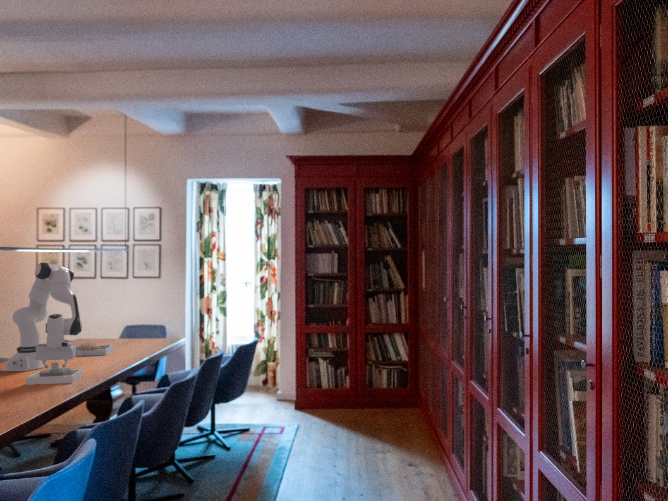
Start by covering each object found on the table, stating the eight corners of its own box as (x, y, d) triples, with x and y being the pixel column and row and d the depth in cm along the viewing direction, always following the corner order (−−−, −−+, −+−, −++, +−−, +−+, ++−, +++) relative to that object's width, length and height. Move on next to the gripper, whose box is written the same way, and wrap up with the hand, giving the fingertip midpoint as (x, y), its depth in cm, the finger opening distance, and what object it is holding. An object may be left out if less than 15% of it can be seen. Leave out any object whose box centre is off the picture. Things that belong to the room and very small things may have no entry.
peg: (50, 379, 296) (50, 363, 296) (52, 377, 300) (52, 362, 300) (58, 379, 297) (57, 363, 297) (60, 377, 301) (60, 361, 301)
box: (25, 385, 288) (25, 374, 288) (38, 377, 305) (38, 368, 306) (72, 382, 292) (72, 372, 292) (82, 375, 309) (82, 366, 310)
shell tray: (65, 356, 374) (65, 350, 374) (75, 351, 394) (75, 346, 395) (106, 355, 378) (106, 349, 378) (113, 350, 399) (113, 344, 399)
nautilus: (81, 351, 394) (103, 351, 398) (75, 354, 374) (98, 354, 378) (82, 340, 395) (103, 340, 399) (76, 343, 374) (99, 343, 378)
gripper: (33, 344, 294) (33, 369, 294) (72, 343, 297) (72, 368, 297) (37, 343, 300) (37, 367, 300) (76, 341, 304) (76, 365, 303)
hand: (55, 367), depth 299 cm, fingers open, 8 cm apart
